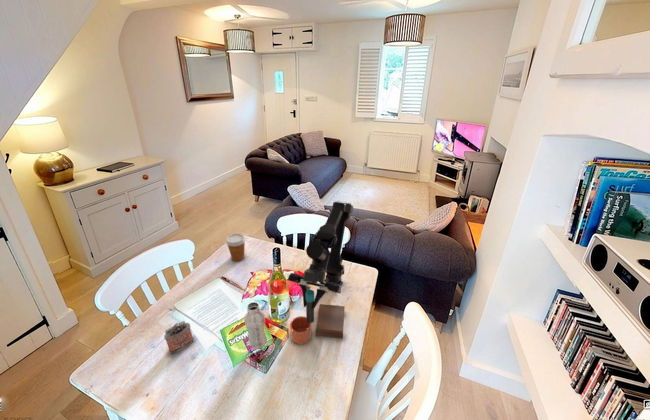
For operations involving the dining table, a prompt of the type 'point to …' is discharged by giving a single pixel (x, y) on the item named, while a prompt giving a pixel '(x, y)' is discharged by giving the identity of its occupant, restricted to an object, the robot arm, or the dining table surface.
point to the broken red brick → (178, 337)
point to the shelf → (330, 321)
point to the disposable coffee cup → (236, 246)
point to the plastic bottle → (255, 326)
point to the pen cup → (300, 330)
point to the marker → (309, 306)
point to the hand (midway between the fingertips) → (308, 308)
